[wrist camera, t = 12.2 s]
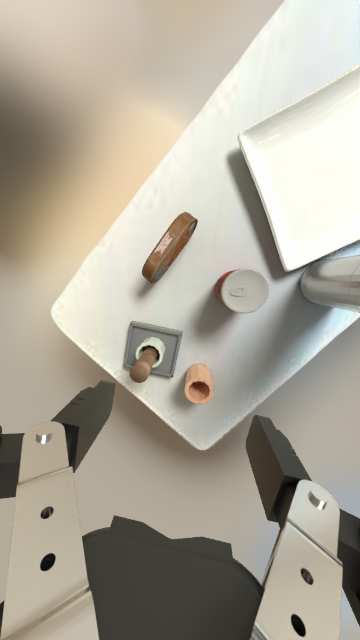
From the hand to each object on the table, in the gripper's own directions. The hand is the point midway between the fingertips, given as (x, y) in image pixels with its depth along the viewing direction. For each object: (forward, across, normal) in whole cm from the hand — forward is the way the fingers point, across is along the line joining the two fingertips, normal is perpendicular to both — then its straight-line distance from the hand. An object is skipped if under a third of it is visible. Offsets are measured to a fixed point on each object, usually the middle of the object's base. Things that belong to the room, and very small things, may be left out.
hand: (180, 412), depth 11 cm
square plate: (+37, -20, -31) cm, 52 cm away
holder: (+35, +7, +10) cm, 37 cm away
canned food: (+36, -8, -7) cm, 38 cm away
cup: (+36, -5, +15) cm, 39 cm away
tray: (+36, +7, +10) cm, 38 cm away
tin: (+36, +7, -12) cm, 39 cm away
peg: (+35, +7, +10) cm, 37 cm away
